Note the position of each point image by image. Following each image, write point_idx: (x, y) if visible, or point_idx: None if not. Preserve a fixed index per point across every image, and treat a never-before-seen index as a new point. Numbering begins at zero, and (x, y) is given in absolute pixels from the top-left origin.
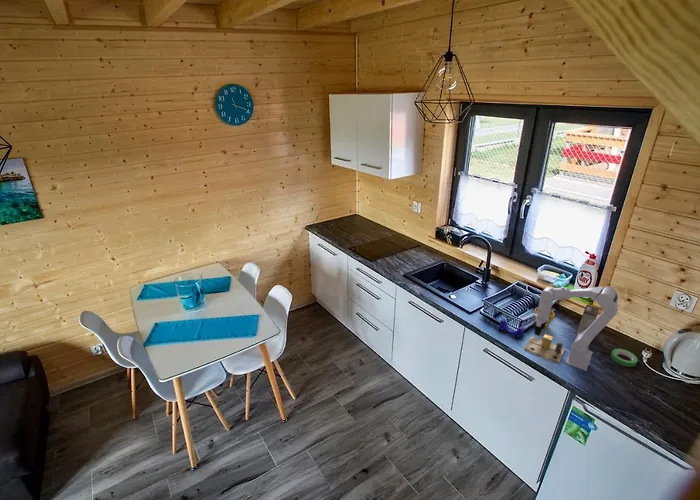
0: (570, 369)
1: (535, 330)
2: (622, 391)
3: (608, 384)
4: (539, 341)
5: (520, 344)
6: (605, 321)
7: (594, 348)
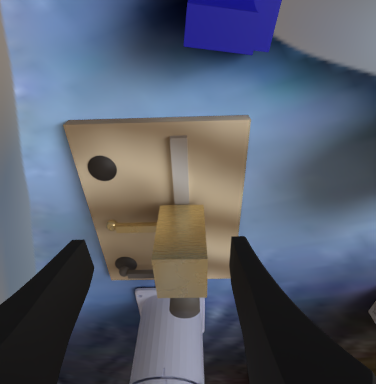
0: (113, 301)
1: (36, 285)
2: None
3: None
4: (217, 179)
5: (106, 76)
6: None
7: None
